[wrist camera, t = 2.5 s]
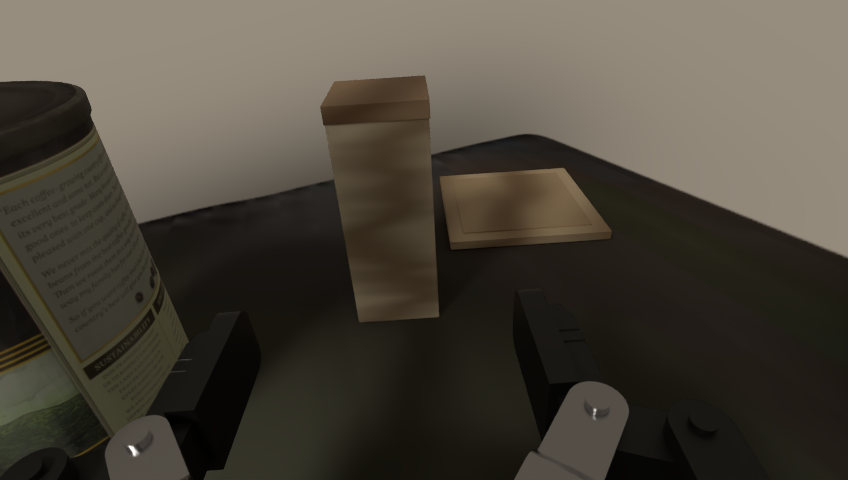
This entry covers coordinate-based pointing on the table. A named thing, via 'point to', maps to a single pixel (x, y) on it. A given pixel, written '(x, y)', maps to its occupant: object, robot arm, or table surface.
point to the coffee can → (72, 283)
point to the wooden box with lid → (385, 194)
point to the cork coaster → (518, 209)
